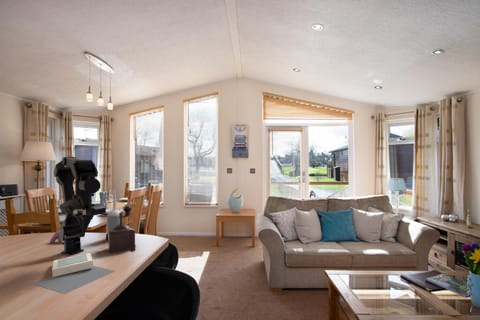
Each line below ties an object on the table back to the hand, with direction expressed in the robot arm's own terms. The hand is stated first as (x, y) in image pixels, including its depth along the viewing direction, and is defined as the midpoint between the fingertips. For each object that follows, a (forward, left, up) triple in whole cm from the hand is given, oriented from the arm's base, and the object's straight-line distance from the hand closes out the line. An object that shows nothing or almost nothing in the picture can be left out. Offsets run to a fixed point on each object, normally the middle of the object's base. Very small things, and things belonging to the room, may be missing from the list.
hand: (84, 231), depth 108 cm
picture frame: (+9, -10, -10) cm, 17 cm away
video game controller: (-34, +13, -12) cm, 38 cm away
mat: (+12, -12, -12) cm, 21 cm away
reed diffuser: (-15, +27, -12) cm, 33 cm away
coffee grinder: (0, +18, -12) cm, 22 cm away
